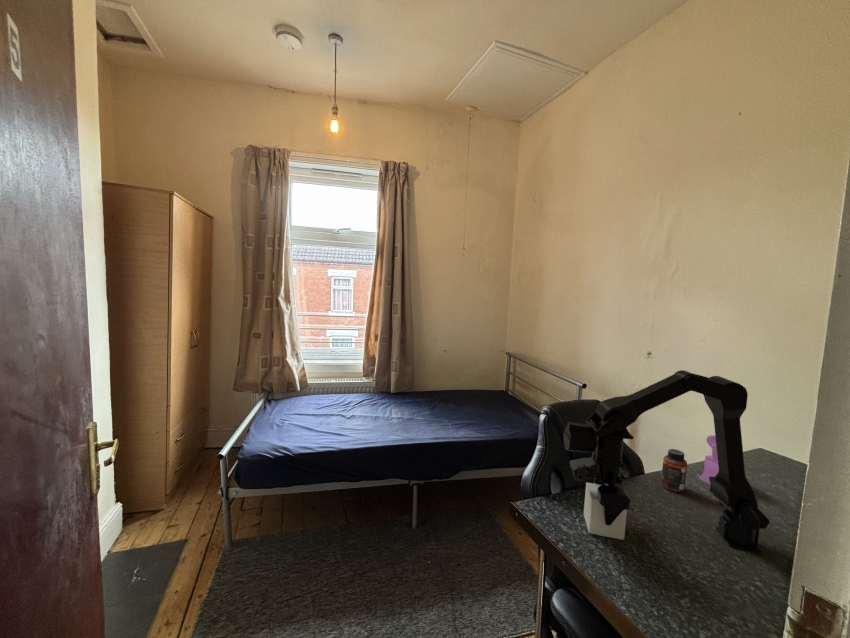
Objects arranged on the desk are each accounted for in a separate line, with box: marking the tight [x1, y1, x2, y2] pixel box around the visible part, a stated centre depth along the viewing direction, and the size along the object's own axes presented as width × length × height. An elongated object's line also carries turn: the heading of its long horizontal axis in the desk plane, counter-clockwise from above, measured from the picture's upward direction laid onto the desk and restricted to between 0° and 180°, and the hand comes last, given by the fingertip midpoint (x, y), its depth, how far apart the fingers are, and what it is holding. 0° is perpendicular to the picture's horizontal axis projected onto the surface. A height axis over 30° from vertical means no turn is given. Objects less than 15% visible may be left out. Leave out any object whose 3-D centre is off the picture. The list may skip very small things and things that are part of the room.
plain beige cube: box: [583, 482, 628, 541], centre depth 91 cm, size 8×8×9 cm
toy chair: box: [698, 434, 719, 486], centre depth 114 cm, size 8×9×15 cm
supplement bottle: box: [660, 448, 688, 493], centre depth 110 cm, size 6×6×11 cm
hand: (603, 513), depth 91 cm, fingers open, 9 cm apart
